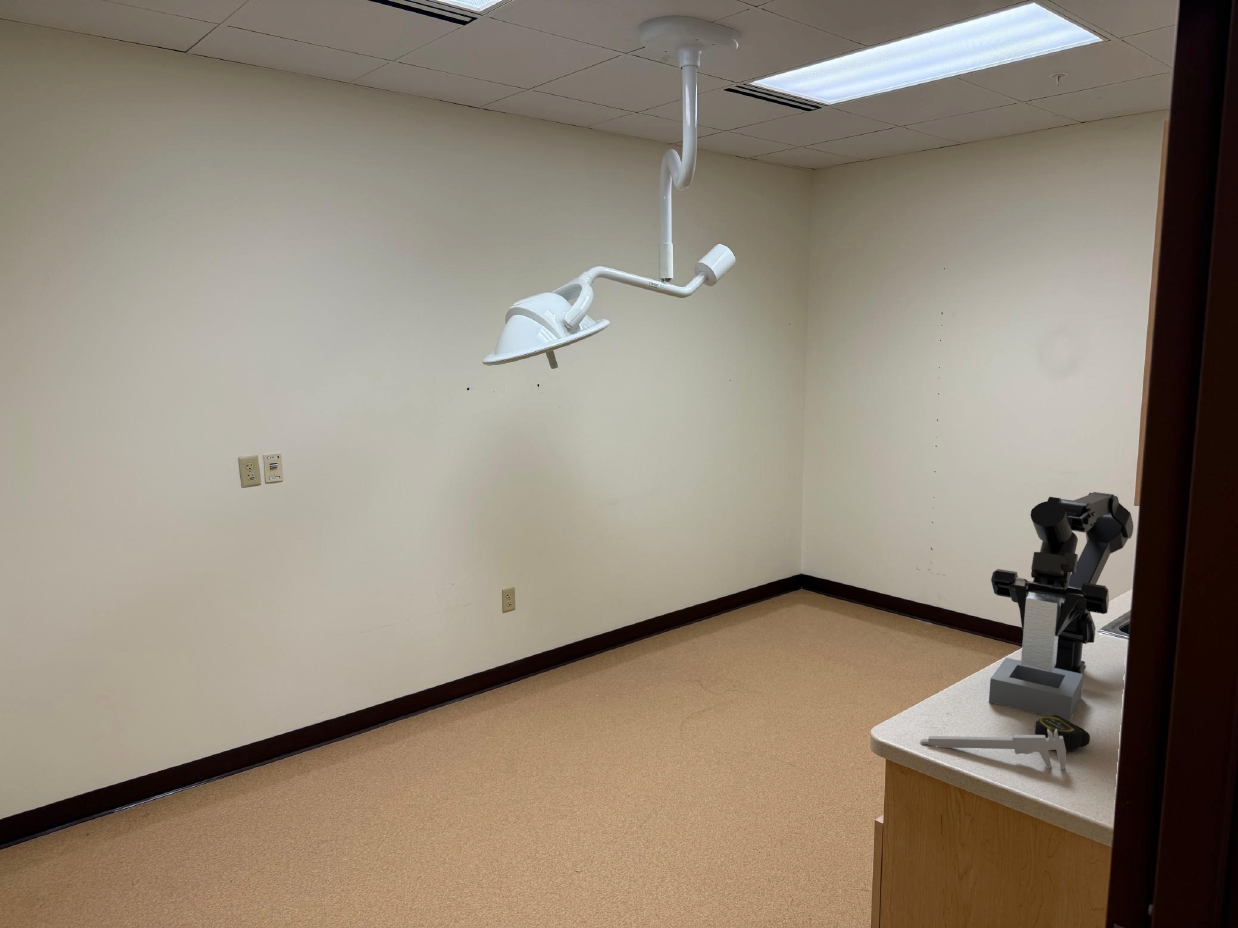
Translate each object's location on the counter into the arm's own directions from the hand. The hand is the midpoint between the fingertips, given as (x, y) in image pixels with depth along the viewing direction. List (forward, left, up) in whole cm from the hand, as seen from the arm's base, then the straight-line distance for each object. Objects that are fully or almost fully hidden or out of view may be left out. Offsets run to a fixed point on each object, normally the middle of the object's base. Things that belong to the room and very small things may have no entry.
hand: (1039, 631), depth 149 cm
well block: (-1, 0, -13) cm, 13 cm away
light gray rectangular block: (-1, 0, -7) cm, 7 cm away
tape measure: (+14, +6, -14) cm, 20 cm away
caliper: (+25, -2, -14) cm, 28 cm away
